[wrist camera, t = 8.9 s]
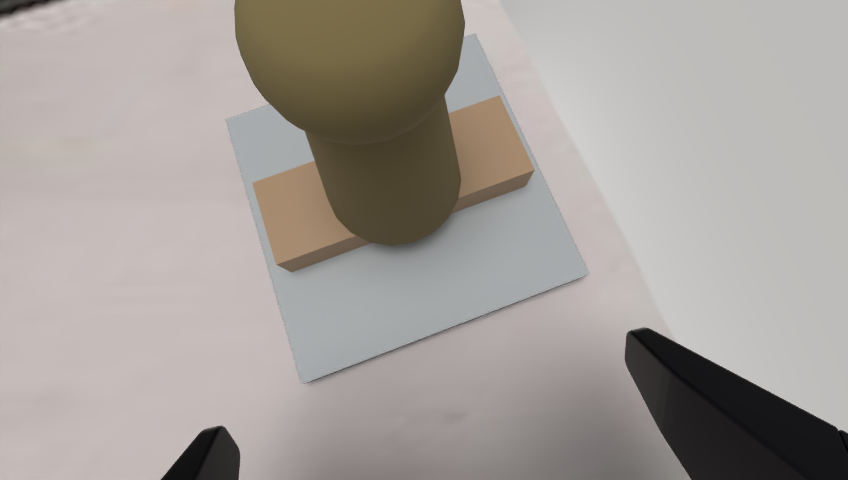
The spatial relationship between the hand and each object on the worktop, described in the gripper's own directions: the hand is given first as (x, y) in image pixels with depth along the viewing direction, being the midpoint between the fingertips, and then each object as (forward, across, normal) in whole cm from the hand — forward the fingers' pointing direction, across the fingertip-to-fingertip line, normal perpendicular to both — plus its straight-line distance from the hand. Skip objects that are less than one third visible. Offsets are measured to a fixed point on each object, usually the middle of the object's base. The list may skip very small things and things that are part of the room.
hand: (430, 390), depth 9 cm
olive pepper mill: (+12, 0, 0) cm, 12 cm away
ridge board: (+14, 0, +2) cm, 14 cm away
